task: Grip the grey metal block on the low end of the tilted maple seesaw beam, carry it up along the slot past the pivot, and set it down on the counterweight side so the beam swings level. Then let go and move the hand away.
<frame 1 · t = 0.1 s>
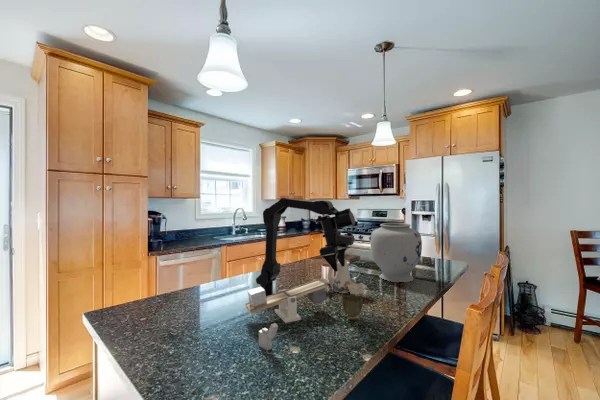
hand: (339, 268, 115), 15 cm above the kitchen island, tool pointing down, fingers open, 9 cm apart
pivot stand: (287, 315, 107), on the kitchen island
cup: (352, 319, 103), on the kitchen island
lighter: (268, 349, 83), on the kitchen island
steel block: (258, 303, 102), point 6 cm above the kitchen island, tilted 10°, touching beam
chinaware: (340, 293, 134), on the kitchen island
beam: (288, 301, 107), point 5 cm above the kitchen island, hinge at 10.1°, touching steel block
apothecary jar: (395, 278, 157), on the kitchen island
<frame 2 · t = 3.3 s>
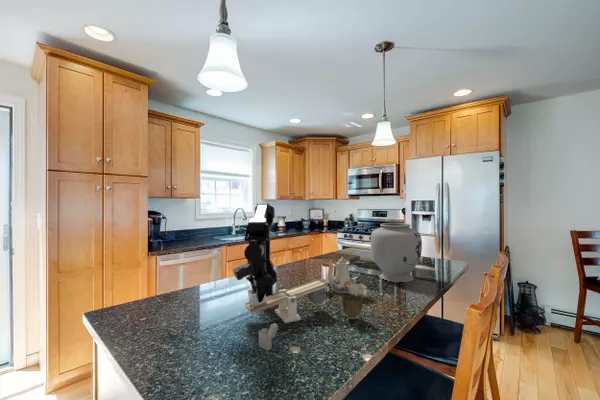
hand: (257, 299, 102), 8 cm above the kitchen island, tool pointing down, fingers closed on steel block, 5 cm apart
steel block: (258, 303, 102), point 6 cm above the kitchen island, tilted 10°, touching beam, gripper
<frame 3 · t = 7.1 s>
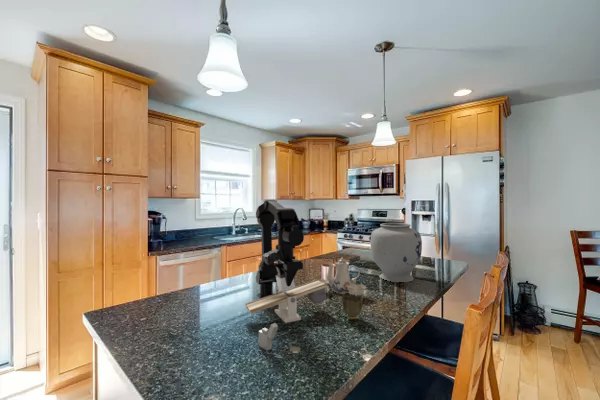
hand: (285, 284, 107), 12 cm above the kitchen island, tool pointing down, fingers closed on steel block, 5 cm apart
steel block: (286, 288, 107), point 10 cm above the kitchen island, tilted 10°, touching gripper
beam: (288, 301, 107), point 5 cm above the kitchen island, hinge at 10.1°
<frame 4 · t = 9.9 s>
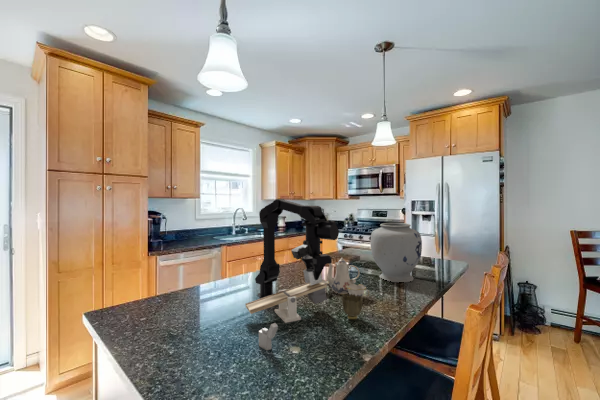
hand: (313, 278, 111), 13 cm above the kitchen island, tool pointing down, fingers closed on steel block, 5 cm apart
steel block: (313, 282, 111), point 11 cm above the kitchen island, tilted 10°, touching gripper
when the fingers open (12 cm above the kitchen island, at t = 11.0 s): steel block drops 3 cm, resting on beam.
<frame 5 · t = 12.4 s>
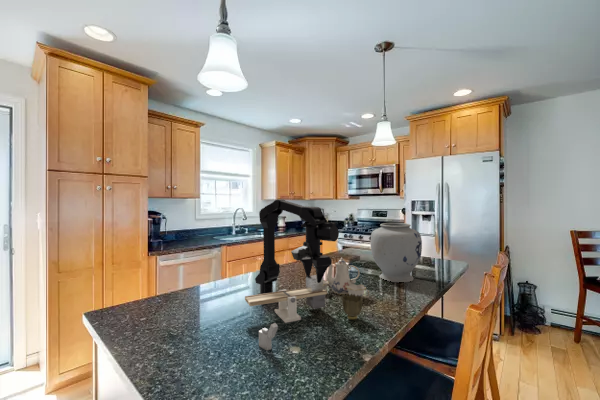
hand: (313, 279, 111), 12 cm above the kitchen island, tool pointing down, fingers open, 9 cm apart
steel block: (314, 290, 111), point 8 cm above the kitchen island, touching beam
beam: (287, 301, 107), point 5 cm above the kitchen island, hinge at -0.1°, touching steel block
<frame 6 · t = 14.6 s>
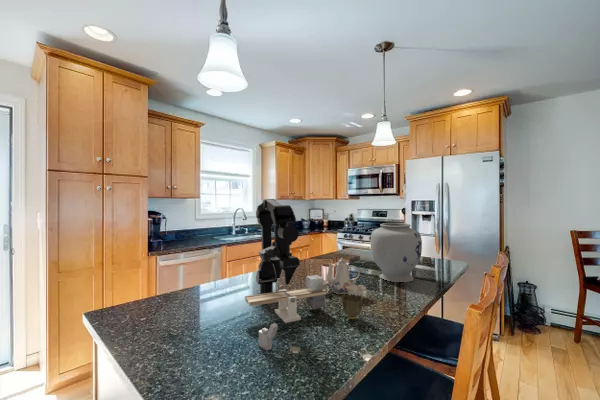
hand: (282, 281, 106), 13 cm above the kitchen island, tool pointing down, fingers open, 9 cm apart
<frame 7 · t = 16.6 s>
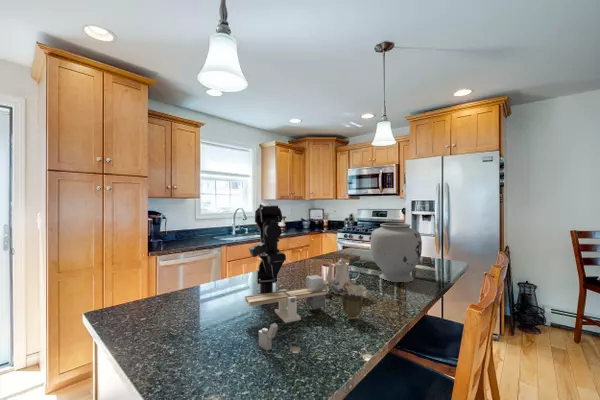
hand: (270, 275, 115), 13 cm above the kitchen island, tool pointing down, fingers open, 9 cm apart
at the end: beam at +0° (first picture: +10°); steel block inside the target area on the beam (1.3 cm from its centre), point 0.5 cm above the beam's base; steel block tilted 0° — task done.
